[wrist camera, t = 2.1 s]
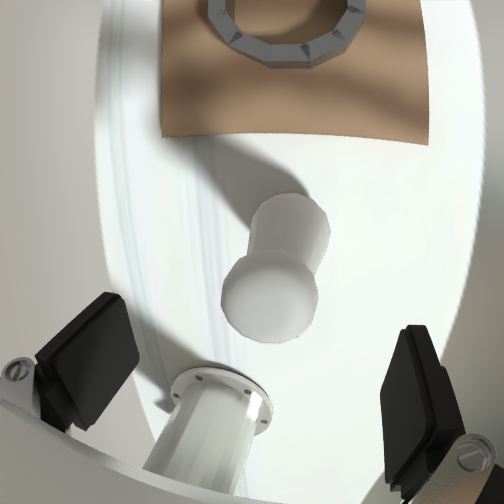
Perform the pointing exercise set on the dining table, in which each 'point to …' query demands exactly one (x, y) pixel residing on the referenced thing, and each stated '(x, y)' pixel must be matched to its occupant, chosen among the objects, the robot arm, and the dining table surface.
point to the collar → (288, 54)
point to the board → (296, 73)
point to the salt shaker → (277, 270)
